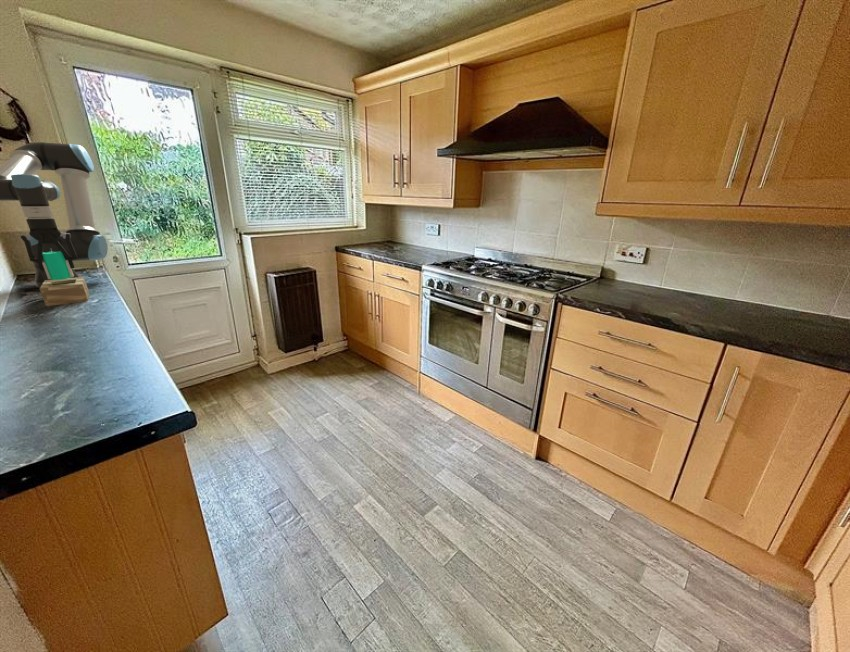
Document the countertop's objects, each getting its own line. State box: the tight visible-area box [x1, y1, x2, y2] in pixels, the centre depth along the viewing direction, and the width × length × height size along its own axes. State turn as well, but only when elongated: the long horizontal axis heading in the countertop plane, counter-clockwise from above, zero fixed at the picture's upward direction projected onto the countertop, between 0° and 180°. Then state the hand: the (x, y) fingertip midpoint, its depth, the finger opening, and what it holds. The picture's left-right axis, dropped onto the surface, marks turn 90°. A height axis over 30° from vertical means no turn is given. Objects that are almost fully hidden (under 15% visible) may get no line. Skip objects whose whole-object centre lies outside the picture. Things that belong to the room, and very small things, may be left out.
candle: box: [42, 250, 71, 280], centre depth 139 cm, size 6×6×12 cm
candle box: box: [39, 276, 90, 307], centre depth 144 cm, size 16×12×7 cm
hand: (61, 277), depth 141 cm, fingers closed on candle, 6 cm apart
